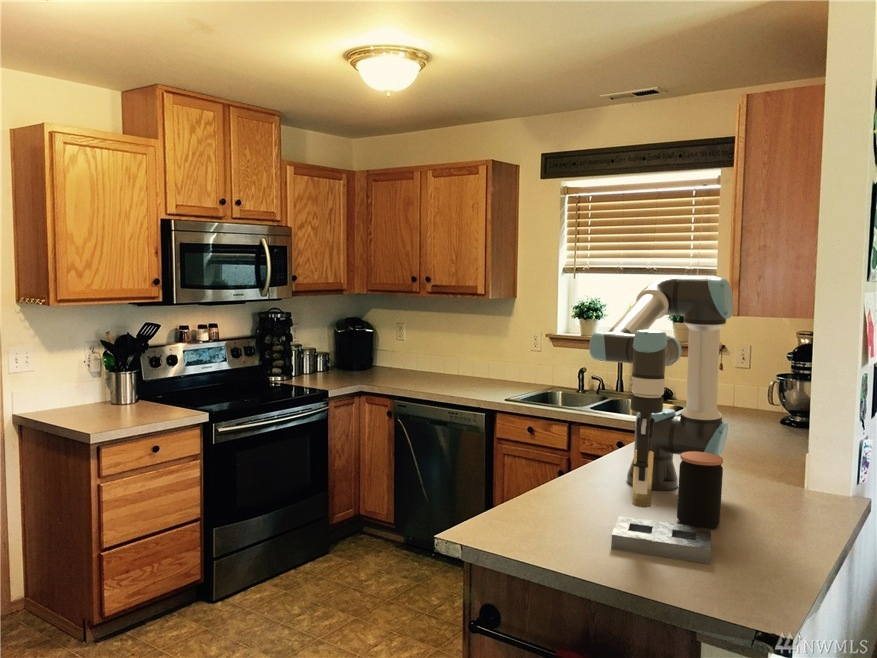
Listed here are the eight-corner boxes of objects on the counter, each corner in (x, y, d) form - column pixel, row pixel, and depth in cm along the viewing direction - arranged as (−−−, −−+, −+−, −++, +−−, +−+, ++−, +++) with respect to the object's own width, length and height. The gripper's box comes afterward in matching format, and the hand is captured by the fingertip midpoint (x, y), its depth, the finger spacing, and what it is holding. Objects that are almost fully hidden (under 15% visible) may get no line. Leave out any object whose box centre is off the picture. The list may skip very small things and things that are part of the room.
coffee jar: (709, 516, 194) (713, 451, 193) (726, 531, 184) (730, 462, 182) (670, 516, 194) (674, 451, 192) (685, 530, 183) (689, 461, 182)
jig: (618, 529, 183) (618, 515, 183) (710, 542, 176) (710, 528, 175) (611, 548, 170) (611, 534, 170) (710, 564, 163) (710, 549, 162)
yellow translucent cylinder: (632, 500, 176) (635, 448, 175) (651, 503, 175) (654, 450, 174) (631, 505, 172) (633, 452, 171) (650, 508, 171) (652, 454, 170)
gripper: (634, 388, 181) (629, 479, 183) (627, 399, 165) (622, 498, 167) (665, 390, 178) (660, 483, 180) (661, 402, 162) (655, 503, 164)
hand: (642, 490), depth 173 cm, fingers closed on yellow translucent cylinder, 4 cm apart
